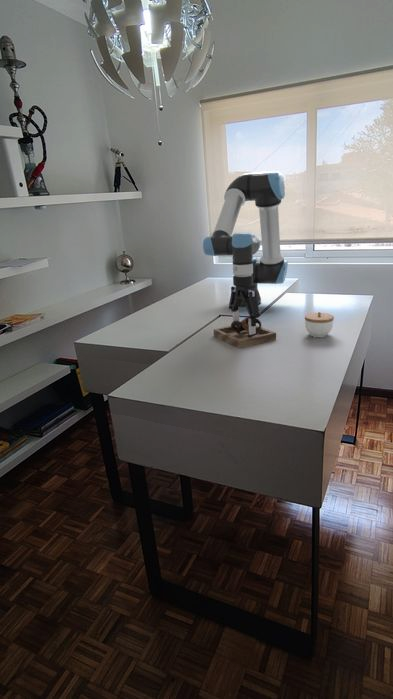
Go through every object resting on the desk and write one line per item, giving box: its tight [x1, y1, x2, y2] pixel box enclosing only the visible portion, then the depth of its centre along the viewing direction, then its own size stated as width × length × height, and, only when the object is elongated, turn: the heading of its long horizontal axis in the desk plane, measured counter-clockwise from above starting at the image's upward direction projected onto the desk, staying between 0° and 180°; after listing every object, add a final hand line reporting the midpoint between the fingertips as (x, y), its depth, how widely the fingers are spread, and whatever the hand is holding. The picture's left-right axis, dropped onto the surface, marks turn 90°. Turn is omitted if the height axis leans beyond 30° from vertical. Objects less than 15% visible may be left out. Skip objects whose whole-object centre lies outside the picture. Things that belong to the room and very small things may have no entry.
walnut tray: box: [213, 322, 277, 350], centre depth 166 cm, size 19×17×3 cm
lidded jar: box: [304, 311, 335, 338], centre depth 163 cm, size 11×11×9 cm
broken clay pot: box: [230, 316, 262, 338], centre depth 166 cm, size 12×10×8 cm
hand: (244, 330), depth 166 cm, fingers open, 11 cm apart
